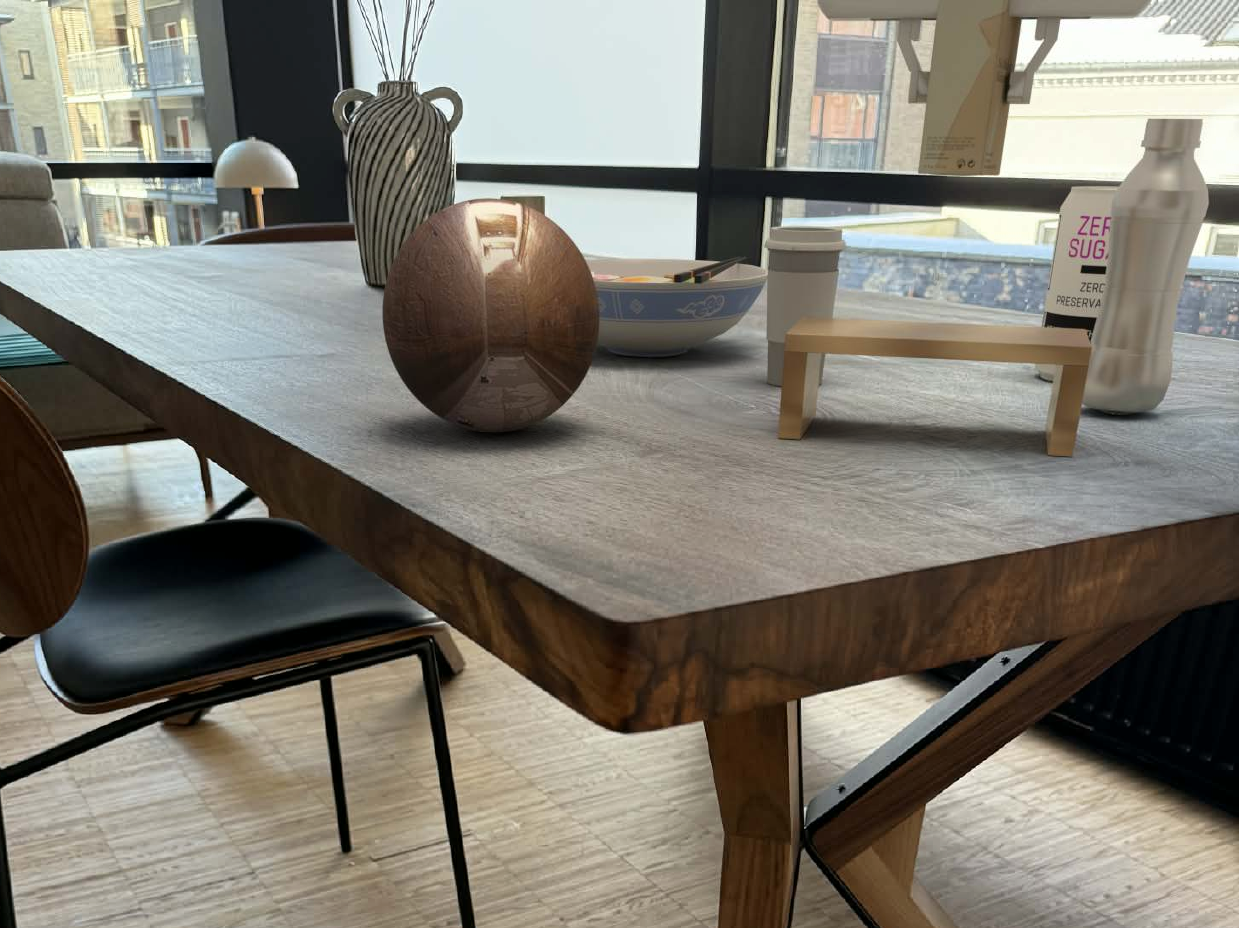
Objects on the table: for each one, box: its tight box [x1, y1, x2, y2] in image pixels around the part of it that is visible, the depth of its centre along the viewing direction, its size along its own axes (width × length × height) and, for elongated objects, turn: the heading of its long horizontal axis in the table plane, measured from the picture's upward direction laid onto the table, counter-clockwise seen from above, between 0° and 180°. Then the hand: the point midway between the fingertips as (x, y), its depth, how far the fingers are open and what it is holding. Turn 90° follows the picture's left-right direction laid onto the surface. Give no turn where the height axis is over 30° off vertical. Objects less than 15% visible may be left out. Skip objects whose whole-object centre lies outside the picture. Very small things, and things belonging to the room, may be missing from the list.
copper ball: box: [381, 197, 600, 434], centre depth 93 cm, size 15×15×15 cm
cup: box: [763, 225, 847, 387], centre depth 113 cm, size 7×7×12 cm
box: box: [917, 0, 1023, 177], centre depth 86 cm, size 5×4×11 cm
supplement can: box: [1034, 185, 1119, 382], centre depth 115 cm, size 8×8×15 cm
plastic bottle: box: [1082, 118, 1210, 415], centre depth 100 cm, size 6×7×20 cm
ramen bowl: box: [585, 256, 768, 358], centre depth 128 cm, size 25×23×8 cm
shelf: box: [777, 317, 1092, 458], centre depth 95 cm, size 20×9×7 cm, turn 75°
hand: (967, 103), depth 87 cm, fingers closed on box, 5 cm apart
